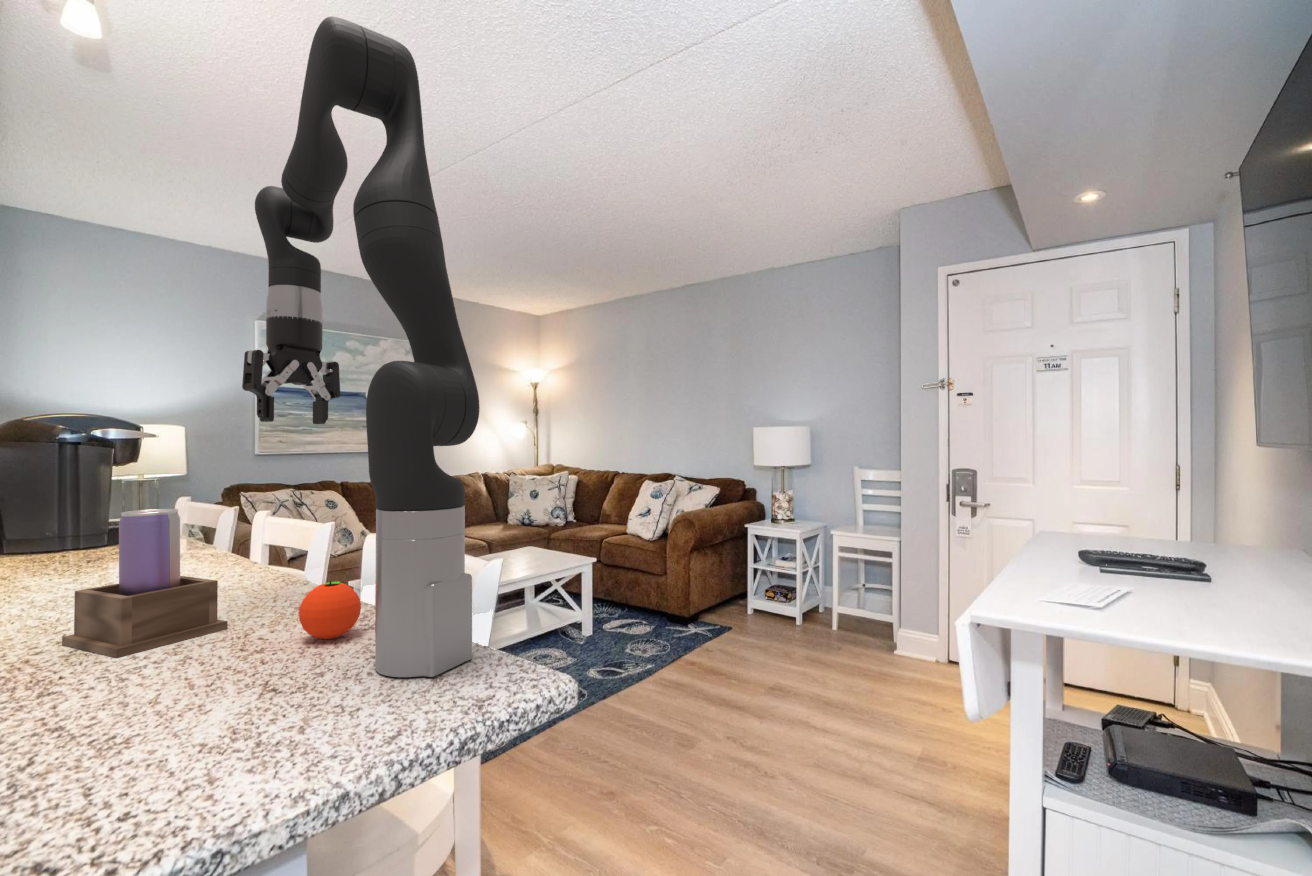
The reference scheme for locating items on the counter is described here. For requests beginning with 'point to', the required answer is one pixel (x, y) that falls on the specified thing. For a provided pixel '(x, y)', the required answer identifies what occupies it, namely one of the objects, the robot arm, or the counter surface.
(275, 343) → the robot arm
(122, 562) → the beverage can
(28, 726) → the counter surface
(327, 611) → the clementine
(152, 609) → the open wooden box
